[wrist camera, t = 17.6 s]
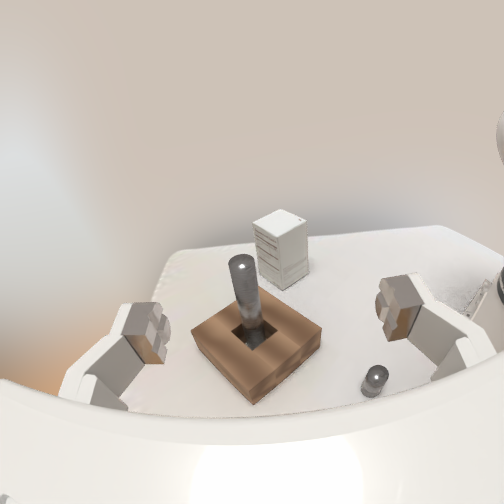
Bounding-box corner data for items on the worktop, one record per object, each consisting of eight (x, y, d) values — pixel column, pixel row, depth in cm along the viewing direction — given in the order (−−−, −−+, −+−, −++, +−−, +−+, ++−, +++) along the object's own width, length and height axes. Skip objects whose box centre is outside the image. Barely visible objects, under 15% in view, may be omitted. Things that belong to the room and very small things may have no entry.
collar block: (260, 305, 50) (257, 285, 47) (319, 347, 41) (321, 328, 38) (198, 348, 44) (190, 330, 41) (253, 404, 34) (248, 390, 31)
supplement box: (284, 258, 61) (281, 207, 53) (308, 274, 55) (308, 220, 48) (258, 274, 58) (250, 221, 50) (281, 292, 52) (277, 236, 45)
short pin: (368, 376, 35) (375, 361, 32) (384, 386, 33) (392, 372, 30) (357, 390, 33) (363, 376, 31) (372, 401, 31) (380, 388, 29)
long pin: (258, 339, 44) (243, 251, 33) (271, 349, 42) (259, 261, 31) (244, 349, 42) (223, 262, 32) (257, 360, 41) (239, 274, 30)
